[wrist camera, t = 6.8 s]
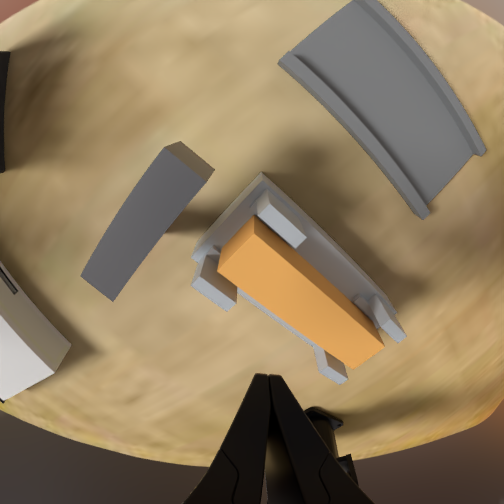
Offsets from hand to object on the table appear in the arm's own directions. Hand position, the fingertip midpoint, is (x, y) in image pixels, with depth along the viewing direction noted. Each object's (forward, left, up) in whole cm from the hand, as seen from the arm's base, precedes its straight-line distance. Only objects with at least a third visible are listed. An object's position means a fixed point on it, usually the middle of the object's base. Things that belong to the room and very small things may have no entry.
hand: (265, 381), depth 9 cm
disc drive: (+17, +30, -13) cm, 37 cm away
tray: (0, -13, -12) cm, 18 cm away
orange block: (-4, 0, -10) cm, 11 cm away
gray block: (+6, +1, -12) cm, 14 cm away
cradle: (-4, 0, -12) cm, 13 cm away
